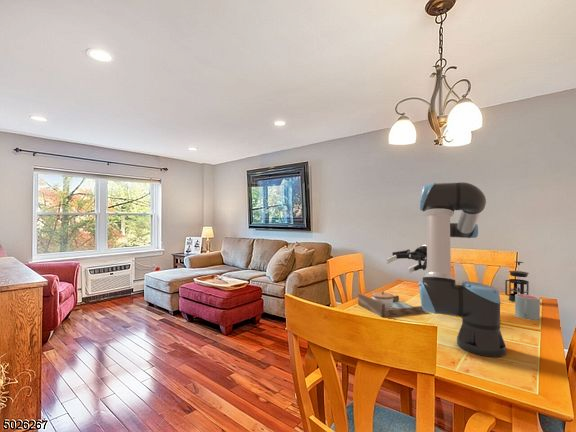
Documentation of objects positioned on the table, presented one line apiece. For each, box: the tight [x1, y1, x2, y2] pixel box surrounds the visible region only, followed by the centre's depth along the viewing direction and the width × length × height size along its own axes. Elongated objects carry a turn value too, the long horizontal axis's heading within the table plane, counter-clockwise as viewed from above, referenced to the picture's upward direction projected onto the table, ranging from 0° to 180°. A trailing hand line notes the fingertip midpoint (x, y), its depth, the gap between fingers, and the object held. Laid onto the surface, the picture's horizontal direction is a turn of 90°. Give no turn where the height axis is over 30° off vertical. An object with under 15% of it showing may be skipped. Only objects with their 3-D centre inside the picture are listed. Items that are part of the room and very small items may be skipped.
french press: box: [504, 260, 530, 303], centre depth 170 cm, size 12×9×23 cm
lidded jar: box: [371, 290, 394, 310], centre depth 152 cm, size 11×11×9 cm
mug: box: [514, 293, 541, 321], centre depth 140 cm, size 14×9×10 cm
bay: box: [357, 293, 426, 318], centre depth 154 cm, size 26×21×6 cm
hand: (397, 265), depth 148 cm, fingers open, 13 cm apart
